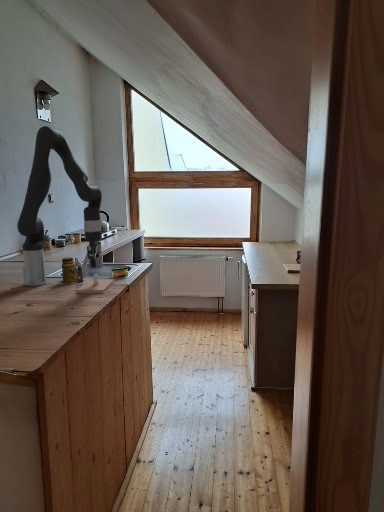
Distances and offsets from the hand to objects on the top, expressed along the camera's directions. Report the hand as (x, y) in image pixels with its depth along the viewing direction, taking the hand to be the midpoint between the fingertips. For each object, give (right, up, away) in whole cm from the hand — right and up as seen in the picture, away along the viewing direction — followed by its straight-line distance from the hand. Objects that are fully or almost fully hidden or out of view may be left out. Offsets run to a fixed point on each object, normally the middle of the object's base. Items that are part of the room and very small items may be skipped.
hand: (95, 265), depth 167 cm
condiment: (-18, -9, +13) cm, 24 cm away
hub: (0, -1, 0) cm, 1 cm away
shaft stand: (0, -10, +2) cm, 10 cm away
